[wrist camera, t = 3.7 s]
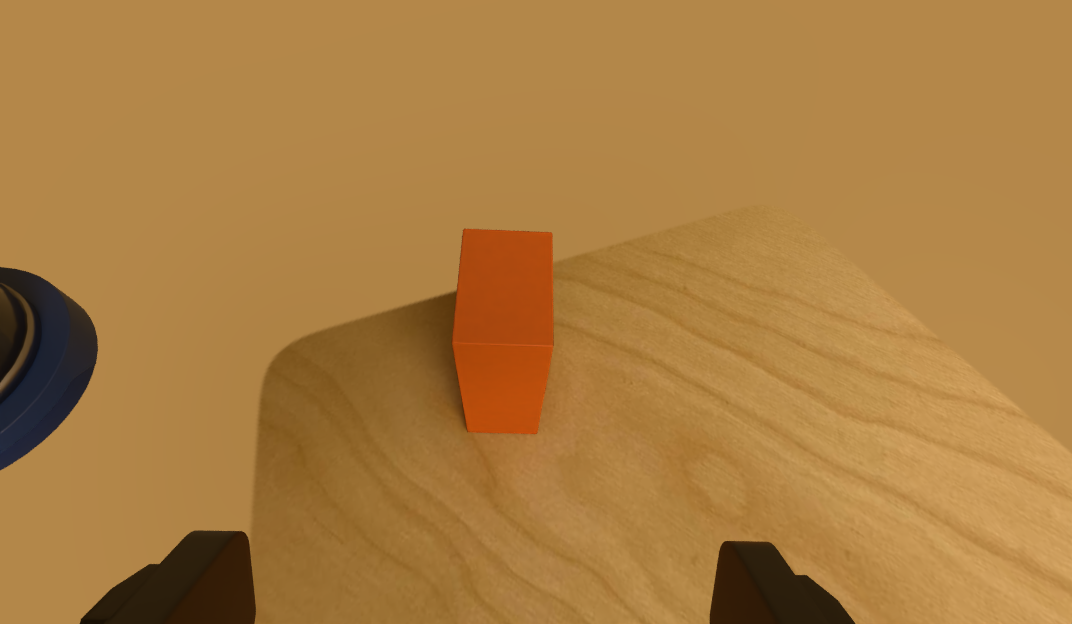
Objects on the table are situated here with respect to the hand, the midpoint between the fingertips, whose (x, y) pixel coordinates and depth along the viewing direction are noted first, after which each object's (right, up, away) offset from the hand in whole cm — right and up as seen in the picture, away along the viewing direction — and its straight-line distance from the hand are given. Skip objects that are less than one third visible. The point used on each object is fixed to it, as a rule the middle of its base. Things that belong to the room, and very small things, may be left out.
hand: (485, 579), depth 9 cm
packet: (-1, +1, +19) cm, 19 cm away
